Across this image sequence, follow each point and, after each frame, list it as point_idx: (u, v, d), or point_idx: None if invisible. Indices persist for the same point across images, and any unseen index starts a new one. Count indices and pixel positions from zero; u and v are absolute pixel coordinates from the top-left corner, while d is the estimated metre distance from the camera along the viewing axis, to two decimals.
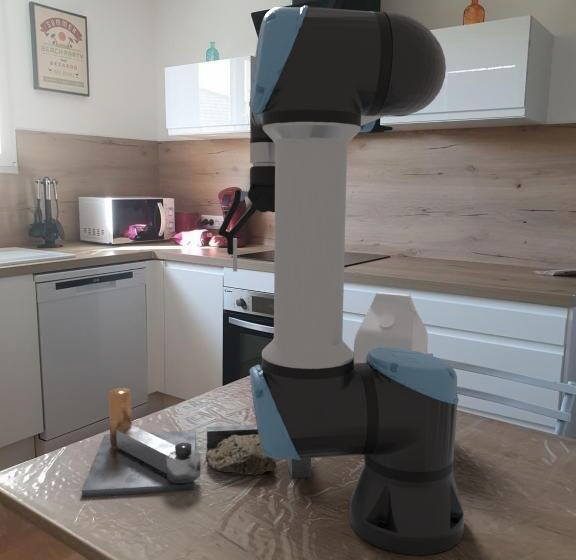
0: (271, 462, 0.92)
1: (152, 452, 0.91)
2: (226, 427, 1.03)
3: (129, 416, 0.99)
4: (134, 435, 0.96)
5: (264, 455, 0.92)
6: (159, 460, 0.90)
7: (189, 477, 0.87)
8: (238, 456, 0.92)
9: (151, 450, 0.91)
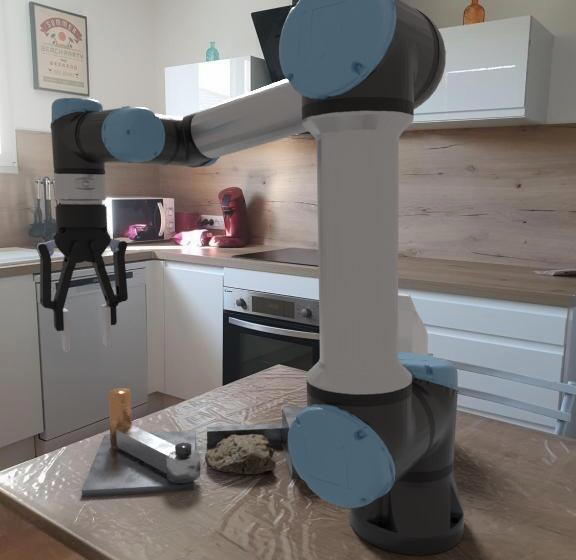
0: (271, 462, 0.92)
1: (152, 452, 0.91)
2: (226, 427, 1.03)
3: (129, 416, 0.99)
4: (134, 435, 0.96)
5: (264, 455, 0.92)
6: (159, 460, 0.90)
7: (189, 477, 0.87)
8: (238, 456, 0.92)
9: (151, 450, 0.91)
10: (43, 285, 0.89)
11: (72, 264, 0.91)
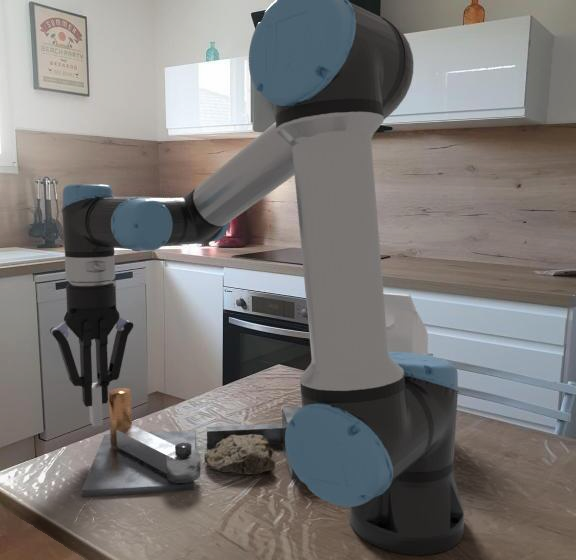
0: (270, 462, 0.92)
1: (152, 452, 0.91)
2: (226, 427, 1.03)
3: (129, 416, 0.99)
4: (134, 435, 0.96)
5: (263, 455, 0.92)
6: (159, 460, 0.90)
7: (189, 477, 0.87)
8: (237, 456, 0.92)
9: (151, 450, 0.92)
10: (68, 366, 0.93)
11: (88, 343, 0.93)
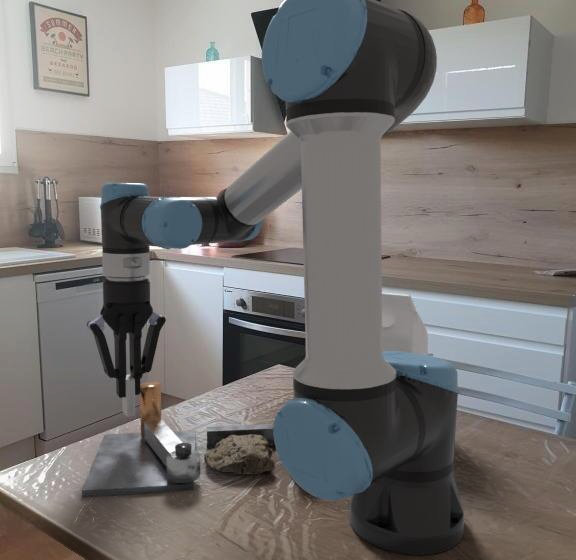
0: (270, 462, 0.92)
1: (162, 448, 0.93)
2: (226, 427, 1.03)
3: (157, 410, 1.02)
4: (156, 429, 0.99)
5: (263, 455, 0.92)
6: (165, 456, 0.91)
7: (184, 478, 0.87)
8: (237, 456, 0.92)
9: (161, 446, 0.93)
10: (104, 359, 0.96)
11: (123, 336, 0.97)
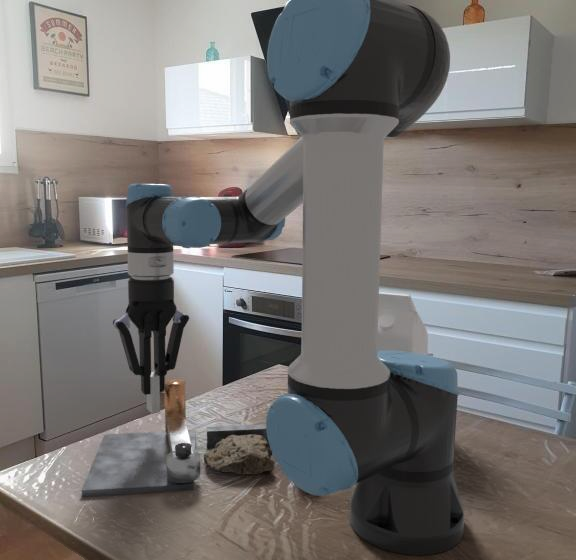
0: (269, 462, 0.92)
1: None
2: (226, 427, 1.03)
3: (179, 407, 1.03)
4: (173, 426, 1.00)
5: (263, 455, 0.92)
6: None
7: (179, 478, 0.86)
8: (236, 456, 0.92)
9: (170, 443, 0.94)
10: (129, 356, 0.98)
11: (148, 334, 0.98)
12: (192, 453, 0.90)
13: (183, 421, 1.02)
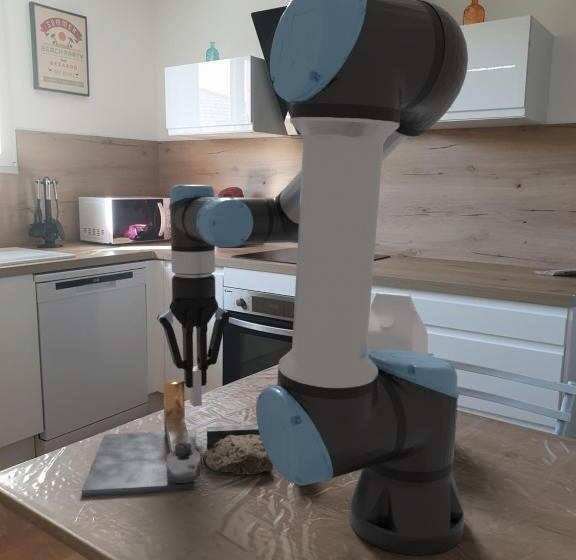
0: (268, 462, 0.92)
1: (170, 445, 0.94)
2: (226, 427, 1.03)
3: (179, 407, 1.03)
4: (173, 426, 1.00)
5: (262, 455, 0.92)
6: None
7: (179, 478, 0.86)
8: (235, 456, 0.92)
9: (170, 443, 0.94)
10: None
11: None
12: (192, 453, 0.90)
13: (182, 421, 1.02)
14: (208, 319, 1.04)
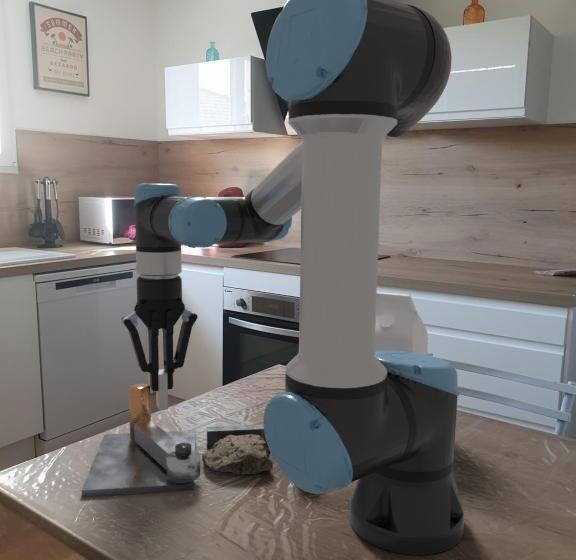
0: (268, 461, 0.92)
1: (158, 449, 0.92)
2: (226, 427, 1.03)
3: (147, 412, 1.01)
4: (148, 430, 0.98)
5: (261, 455, 0.92)
6: (163, 457, 0.91)
7: (185, 478, 0.87)
8: (235, 456, 0.92)
9: (158, 447, 0.93)
10: None
11: None
12: None
13: (154, 425, 1.00)
14: (174, 321, 1.02)
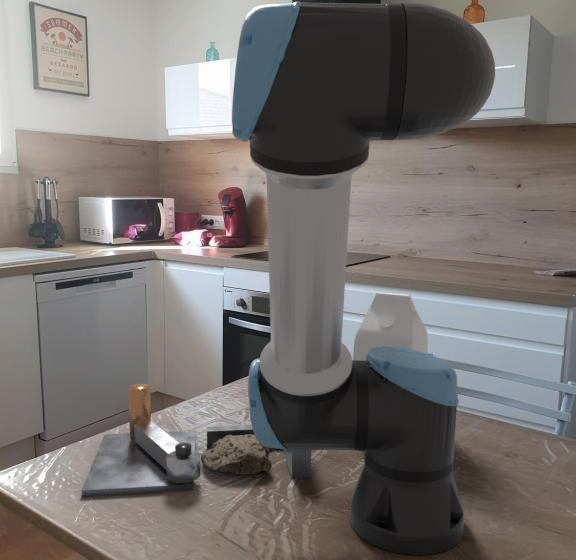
0: (267, 461, 0.92)
1: (158, 449, 0.92)
2: (226, 427, 1.03)
3: (147, 412, 1.01)
4: (148, 430, 0.98)
5: (260, 455, 0.92)
6: (163, 457, 0.91)
7: (185, 478, 0.87)
8: (234, 456, 0.92)
9: (158, 447, 0.93)
10: None
11: None
12: None
13: (154, 425, 1.00)
14: None
